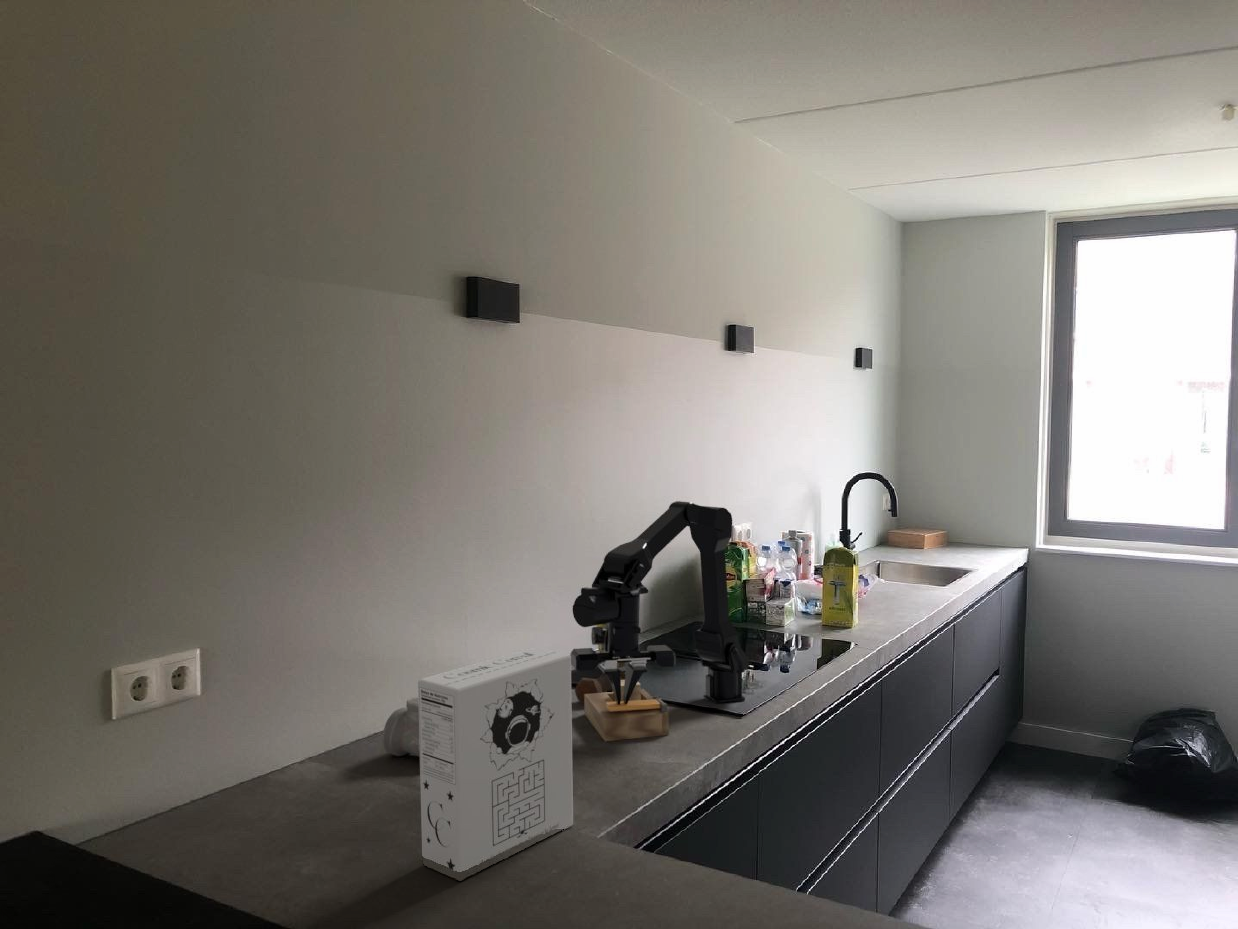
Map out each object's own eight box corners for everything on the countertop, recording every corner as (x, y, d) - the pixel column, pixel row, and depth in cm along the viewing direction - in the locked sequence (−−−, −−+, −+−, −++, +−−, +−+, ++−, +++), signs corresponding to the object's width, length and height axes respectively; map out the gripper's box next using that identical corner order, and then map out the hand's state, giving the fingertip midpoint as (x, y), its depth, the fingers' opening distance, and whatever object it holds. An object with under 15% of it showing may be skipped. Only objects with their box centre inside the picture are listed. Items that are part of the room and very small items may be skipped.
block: (643, 708, 195) (643, 682, 194) (668, 734, 179) (668, 705, 179) (584, 714, 191) (584, 687, 191) (605, 741, 176) (604, 711, 176)
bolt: (623, 694, 211) (589, 712, 197) (605, 680, 213) (570, 696, 199) (635, 672, 209) (602, 688, 196) (617, 658, 211) (583, 673, 198)
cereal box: (536, 812, 146) (533, 646, 144) (574, 825, 141) (571, 654, 139) (421, 866, 129) (416, 679, 128) (459, 883, 124) (455, 689, 123)
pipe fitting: (376, 757, 168) (383, 698, 167) (407, 746, 175) (414, 690, 174) (431, 777, 162) (439, 717, 162) (461, 765, 169) (468, 707, 169)
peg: (635, 714, 191) (635, 678, 191) (641, 720, 188) (640, 684, 187) (615, 716, 190) (615, 680, 190) (620, 722, 187) (620, 686, 186)
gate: (660, 704, 184) (660, 697, 184) (665, 709, 181) (665, 702, 181) (605, 707, 181) (606, 701, 181) (610, 712, 178) (610, 706, 178)
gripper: (659, 609, 190) (657, 689, 190) (564, 612, 185) (563, 694, 185) (677, 621, 179) (675, 706, 180) (577, 625, 174) (575, 711, 175)
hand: (621, 704), depth 180 cm, fingers closed, pressing on gate
